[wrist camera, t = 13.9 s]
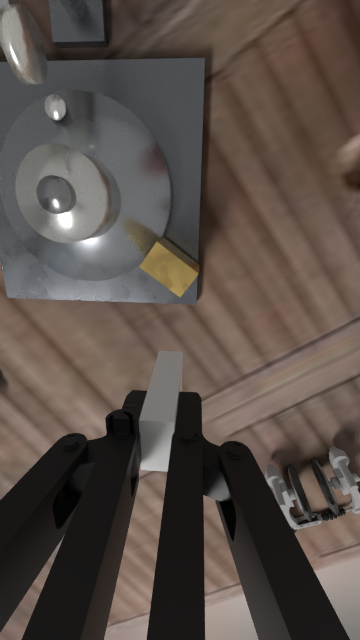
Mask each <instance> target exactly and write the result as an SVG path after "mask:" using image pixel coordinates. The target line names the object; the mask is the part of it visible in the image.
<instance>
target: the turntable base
mask: <svg viewBox="0 0 360 640" xmlns="http://www.w3.org/2000/svg"><path fill="white" fill-rule="evenodd" d="M47 65H48V74H47V79H46V82H45V83H44V84H24V83H22V82H21V81H20V80H19V79H18V78H17V77H16V75H15V74H14V72H13V71H12V69H11V67H10V65H9V63H8V62H0V156H1V151H2V147H3V144H4V141H5V139H6V136H7V134H8V132H9V130H10V128H11V126H12V125H13V123H14V122H15V120H16V119H17V118H18V116H19V115H20V114H21V113H22V112H23V111H24V110H25V109H26V108H27V107H28V106H30V105H31V104H32V103H34V102H35V101H37V100H38V99H40V98H42V97H44V96H46V95H49V94H52V93H55V92H59V91H65V90H86V91H91V92H96V93H99V94H102V95H104V96H107V97H110V98H111V99H113V100H115V101H117V102H119V103H121V104H122V105H123V106H125V107H126V108H127V109H129V110H130V111H131V112H132V113H133V114H135V115H136V116H137V117H138V118H139V119H140V120H141V121H142V123H143V124H144V125H145V126H146V128H147V129H148V130H149V131H150V133H151V134H152V136H153V137H154V139H155V141H156V142H157V144H158V145H159V147H160V149H161V151H162V154H163V156H164V158H165V161H166V164H167V167H168V170H169V174H170V179H171V187H172V208H171V214H170V219H169V222H168V226H167V229H166V231H165V234H164V236H163V237H164V238H165V239H167V240H168V241H169V242H170V243H172V244H173V245H174V246H176V247H177V248H178V249H179V250H181V251H182V252H183V253H185V254H186V255H187V256H188V257H190V258H191V259H192V260H194V261H195V262H196V263H197V264H198V251H199V222H200V194H201V165H202V136H203V108H204V79H205V58H167V59H119V60H70V61H47ZM0 262H1V267H2V272H3V277H4V282H5V287H6V292H7V297H8V298H29V299H57V300H86V301H115V302H143V303H172V304H197V280H198V276H197V277H196V278H195V279H194V281H193V282H192V283H191V284H190V286H189V287H188V288H187V290H186V291H185V292H184V293H183V295H182V296H181V297H179V296H177V295H176V294H175V293H173V292H172V291H171V290H169V289H168V288H167V287H165V286H164V285H163V284H161V283H160V282H159V281H157V280H156V279H155V278H153V277H152V276H151V275H149V274H148V273H147V272H145V271H144V270H143V269H141V268H140V267H139V266H140V265H141V264H140V265H139V266H138V267H136V268H135V269H133V270H132V271H130V272H128V273H126V274H124V275H122V276H119V277H116V278H113V279H108V280H102V281H87V280H80V279H75V278H71V277H68V276H65V275H63V274H61V273H58V272H56V271H54V270H53V269H51V268H49V267H48V266H46V265H45V264H43V263H42V262H41V261H39V260H38V259H37V258H36V257H35V256H34V255H33V254H32V253H31V252H30V251H29V250H28V249H27V248H26V247H25V246H24V244H23V243H22V242H21V241H20V239H19V238H18V236H17V235H16V233H15V232H14V230H13V228H12V226H11V224H10V222H9V220H8V218H7V215H6V212H5V210H4V207H3V203H2V199H1V194H0Z"/></svg>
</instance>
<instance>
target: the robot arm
mask: <svg viewBox="0 0 360 640" xmlns="http://www.w3.org/2000/svg"><path fill="white" fill-rule="evenodd" d="M182 362H183V352H175V351H159V353H158V356H157V360H156V363H155V366H154V370H153V373H152V377H151V380H150V384H149V387H148V391H140V390H132V391H131V392H130V393H129V394H128V395H127V396H126V399H125V401H124V404H123V407H122V409H118V410H115V411H113V412H111V413H109V414H108V415H107V417H106V418H105V419H106V430H107V434H106V436H104V437H102V438H98V439H94V440H88V441H87V438H86V437H85V436H84V435H82V434H79V433H73V434H68V435H66V436H63V437H62V438H60V439H59V440H58V441H57V442H56V443H55V444H54V445H53V446H52V447H51V448H50V449H49V450H48V451H47V452H46V453H45V454H44V455H43V456H42V457H41V459H40V460H39V461H38V462H37V463H36V464H35V465H34V466H33V467H32V468H31V469H30V470H29V471H28V472H27V473H26V474H25V475H24V476H23V477H22V478H21V479H20V480H19V481H18V483H17V484H16V485H15V486H14V487H13V488H12V489H11V490H10V491H9V492H8V493H7V494H6V495H5V496H4V497H3V498H2V499H1V500H0V632H1V631H2V629H3V628H4V626H5V624H6V623H7V621H8V620H9V618H10V617H11V615H12V614H13V612H14V611H15V609H16V608H17V606H18V605H19V603H20V602H21V600H22V599H23V597H24V596H25V594H26V593H27V591H28V589H29V588H30V586H31V585H32V583H33V582H34V580H35V579H36V577H37V576H38V574H39V573H40V571H41V570H42V568H43V567H44V565H45V564H46V562H47V561H48V559H49V557H50V556H51V554H52V553H53V551H54V550H55V548H56V547H57V545H58V544H59V542H60V541H61V539H62V538H63V536H64V535H65V536H64V538H63V541H62V543H61V546H60V548H59V550H58V553H57V555H56V558H55V560H54V563H53V565H52V567H51V570H50V572H49V575H48V577H47V580H46V582H45V584H44V587H43V589H42V592H41V594H40V596H39V599H38V601H37V604H36V606H35V609H34V611H33V613H32V616H31V618H30V621H29V623H28V625H27V628H26V630H25V633H24V635H23V638H22V640H104V636H105V632H106V627H107V623H108V618H109V613H110V609H111V604H112V600H113V595H114V591H115V586H116V582H117V577H118V573H119V568H120V564H121V559H122V555H123V550H124V546H125V541H126V537H127V532H128V528H129V523H130V519H131V514H132V509H133V505H134V500H135V496H136V491H137V487H138V482H139V468H140V463H141V470H153V471H168V473H167V481H166V489H165V497H164V505H163V513H162V521H161V529H160V537H159V545H158V553H157V561H156V569H155V577H154V585H153V593H152V601H151V609H150V617H149V625H148V634H147V640H205V599H204V516H203V495H205V496H208V497H211V498H213V499H216V505H217V508H218V511H219V514H220V517H221V521H222V524H223V527H224V530H225V533H226V537H227V540H228V543H229V546H230V549H231V553H232V556H233V559H234V562H235V565H236V569H237V572H238V575H239V578H240V581H241V585H242V588H243V591H244V594H245V597H246V601H247V604H248V607H249V610H250V613H251V617H252V620H253V623H254V626H255V629H256V633H257V635H258V639H259V640H350V639H349V637H348V635H347V633H346V631H345V629H344V628H343V626H342V624H341V622H340V620H339V618H338V616H337V614H336V612H335V610H334V608H333V607H332V605H331V603H330V601H329V599H328V597H327V595H326V593H325V591H324V589H323V588H322V586H321V584H320V582H319V580H318V578H317V576H316V574H315V572H314V570H313V568H312V567H311V565H310V563H309V561H308V559H307V557H306V555H305V553H304V551H303V549H302V548H301V546H300V544H299V542H298V540H297V538H296V536H295V534H294V532H293V530H292V529H291V527H290V525H289V523H288V521H287V519H286V517H285V515H284V513H283V511H282V510H281V508H280V506H279V504H278V502H277V500H276V498H275V496H274V494H273V492H272V491H271V489H270V487H269V485H268V483H267V481H266V479H265V477H264V475H263V473H262V472H261V470H260V468H259V466H258V464H257V462H256V460H255V458H254V456H253V454H252V453H251V451H250V449H249V448H248V447H247V446H246V445H244V444H243V443H240V442H237V441H228V442H225V443H223V444H222V445H221V446H217V445H215V444H212V443H210V442H209V441H207V440H206V439H205V438H204V436H203V434H202V406H201V397H200V396H199V394H198V393H197V392H182ZM65 533H66V534H65Z"/></svg>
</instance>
